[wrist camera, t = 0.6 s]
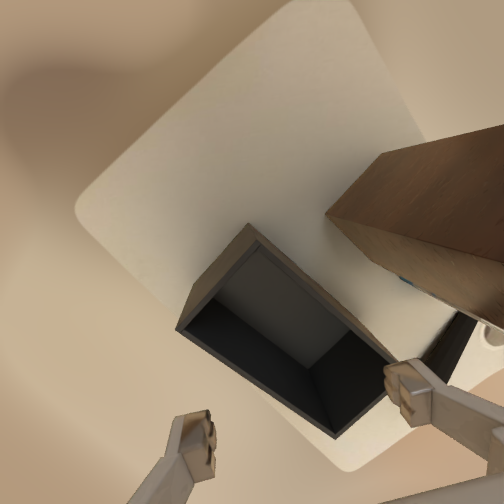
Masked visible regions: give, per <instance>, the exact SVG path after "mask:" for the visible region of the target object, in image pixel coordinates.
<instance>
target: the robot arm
mask: <svg viewBox="0 0 504 504" xmlns="http://www.w3.org/2000/svg"><path fill="white" fill-rule="evenodd" d="M383 373H384V374H385V376H386V378H385V379H384V387H385V390H386V393H387V395H388V396H389V398H390V400H391V401H392V402H393V404H395V405H397V406H399V407H400V413H401V415H402V416H403V417H404V419H405V420H406V421H407V423H408V424H409V425H410V427H411V428H414V427H418V426H423V425H427V424H432V425H433V426H434V427H436V428H437V429H439V430H441V431H442V432H444V433H445V434H447V435H448V436H450V437H451V438H453V439H454V440H456V441H457V442H459V443H460V444H462V445H463V446H465V447H466V448H468V449H470V450H471V451H473V452H474V453H476V454H477V455H479V456H480V457H482V458H483V459H485V460H486V461H488V464H487V473H486V476H483V477H479V478H476V479H471V480H468V481H464V482H460V483H456V484H452V485H449V486H445V487H441V488H437V489H433V490H429V491H426V492H421V493H418V494H414V495H410V496H407V497H402V498H398V499H395V500H391V501H387V502H383V503H379V504H504V407H502V406H499V405H497V404H494V403H492V402H490V401H487V400H485V399H483V398H480V397H478V396H475V395H473V394H471V393H468V392H466V391H464V390H461V389H459V388H457V387H454V386H452V385H450V386H447V385H446V384H445V383H444V382H443V381H442V380H441V379H440V378H439V377H438V376H437V375H436V374H434V373H433V372H432V371H431V370H430V369H429V368H428V367H427V366H426V365H425V364H424V363H423V362H421V361H420V360H419V359H417V358H414V359H410V360H406V361H401V362H397V363H393V364H390V365H386V366H384V367H383ZM216 441H217V439H216V430H215V426H214V423H213V422H212V421H211V414H210V411H209V410H203V411H199V412H194V413H189V414H186V415H181V416H176V417H175V418H174V420H173V422H172V426H171V430H170V435H169V439H168V443H167V447H166V451H165V455H164V457H161V458H160V459H159V461H158V462H157V463H156V465H155V466H154V467H153V469H152V470H151V472H150V473H149V474H148V475H147V477H146V478H145V480H144V481H143V482H142V484H141V485H140V487H139V488H138V489H137V490H136V492H135V493H134V495H133V496H132V497H131V499H130V500H129V501H128V503H127V504H186V502H187V500H188V497H189V495H190V493H191V491H192V489H193V487H194V483H198V482H201V481H205V480H208V479H212V478H214V477H215V464H216V459H215V456H214V451H215V449H216V443H217V442H216Z"/></svg>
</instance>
